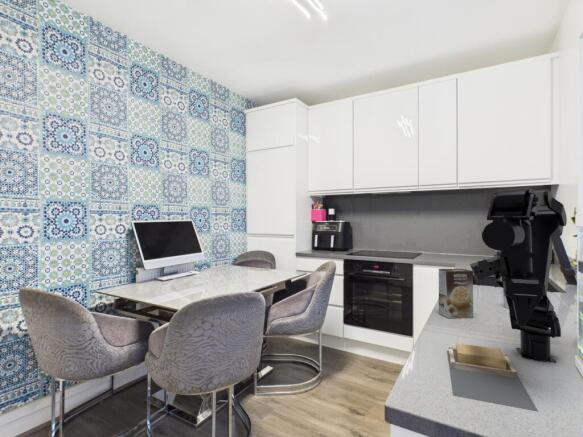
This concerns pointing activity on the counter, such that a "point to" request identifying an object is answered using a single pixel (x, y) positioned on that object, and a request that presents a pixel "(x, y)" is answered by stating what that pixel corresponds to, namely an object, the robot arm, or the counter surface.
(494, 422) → the counter surface
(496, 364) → the tile
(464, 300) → the coffee box
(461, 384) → the mat
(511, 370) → the frame
